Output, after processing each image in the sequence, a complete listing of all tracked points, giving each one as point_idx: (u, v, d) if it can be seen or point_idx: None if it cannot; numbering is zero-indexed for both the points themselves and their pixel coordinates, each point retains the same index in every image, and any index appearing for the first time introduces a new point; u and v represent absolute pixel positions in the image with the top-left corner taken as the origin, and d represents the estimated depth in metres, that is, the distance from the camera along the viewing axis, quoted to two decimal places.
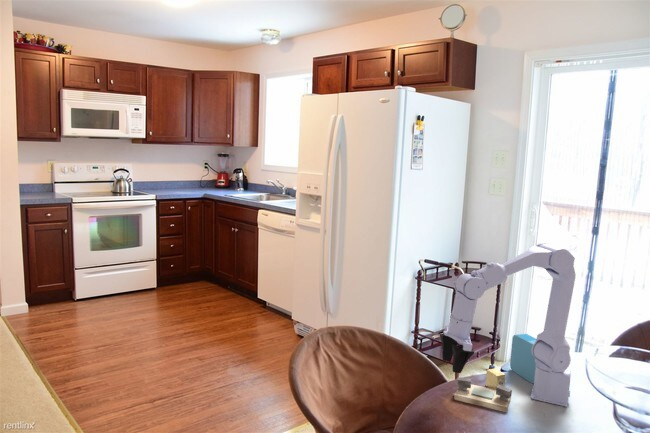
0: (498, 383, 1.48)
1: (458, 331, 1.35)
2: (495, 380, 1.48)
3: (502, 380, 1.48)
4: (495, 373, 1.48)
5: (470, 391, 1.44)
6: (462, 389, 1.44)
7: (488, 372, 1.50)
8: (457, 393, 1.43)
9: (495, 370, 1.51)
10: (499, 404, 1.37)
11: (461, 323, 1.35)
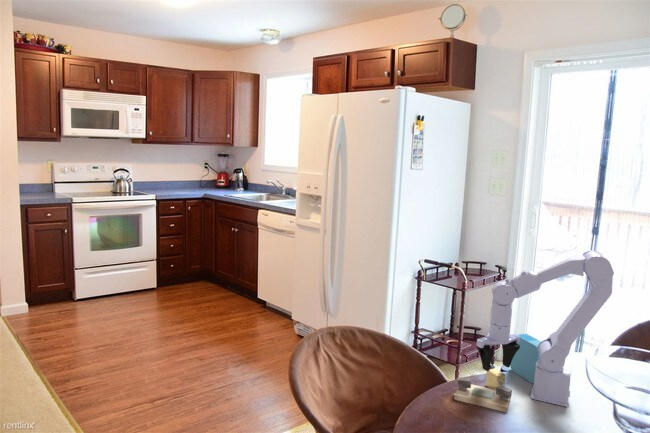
0: (498, 383, 1.48)
1: (489, 332, 1.48)
2: (495, 380, 1.48)
3: (502, 380, 1.48)
4: (495, 373, 1.48)
5: (470, 391, 1.44)
6: (462, 389, 1.44)
7: (488, 372, 1.50)
8: (457, 393, 1.43)
9: (495, 370, 1.51)
10: (499, 404, 1.37)
11: (490, 325, 1.48)
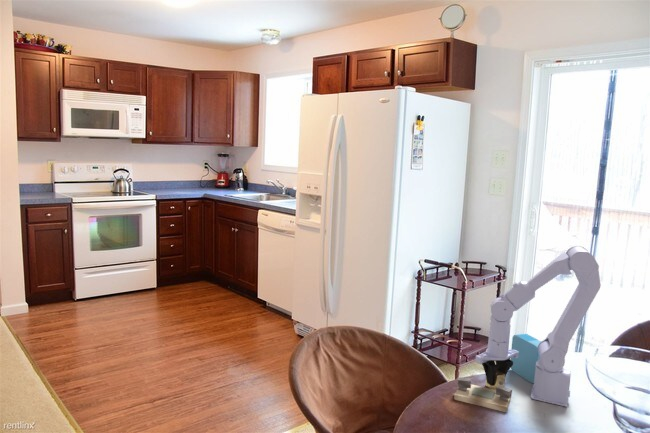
0: (498, 383, 1.48)
1: (488, 348, 1.49)
2: (495, 380, 1.48)
3: (502, 380, 1.48)
4: None
5: (470, 391, 1.44)
6: (462, 389, 1.44)
7: None
8: (457, 393, 1.43)
9: None
10: (499, 404, 1.37)
11: (489, 341, 1.48)
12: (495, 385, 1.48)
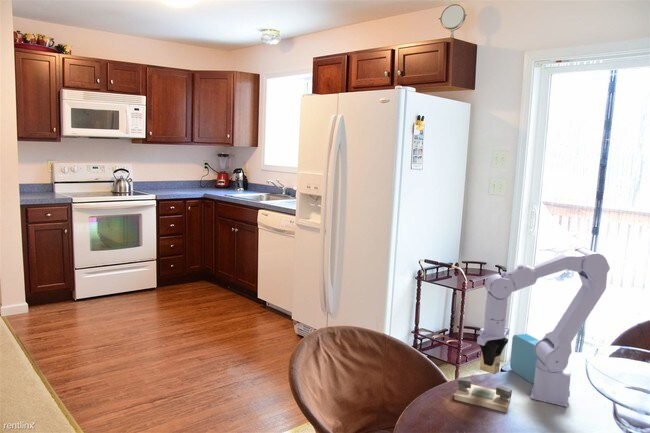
0: (495, 365, 1.44)
1: (485, 328, 1.43)
2: (493, 362, 1.44)
3: (498, 361, 1.45)
4: None
5: (470, 391, 1.44)
6: (462, 389, 1.44)
7: None
8: (457, 393, 1.43)
9: None
10: (499, 404, 1.37)
11: (486, 320, 1.43)
12: (493, 367, 1.44)
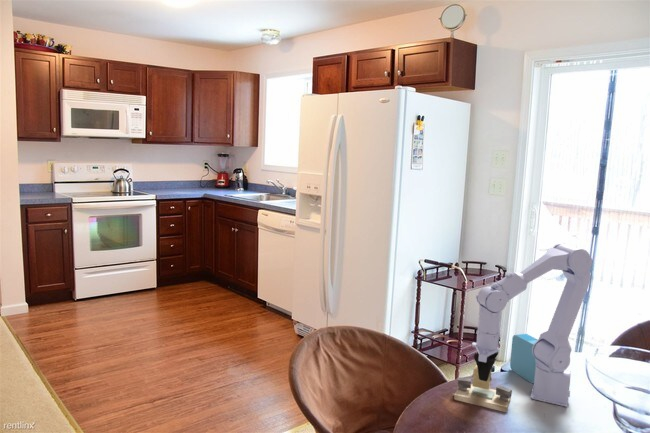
0: (489, 379, 1.41)
1: (481, 343, 1.39)
2: None
3: (490, 375, 1.42)
4: None
5: (470, 391, 1.44)
6: (462, 389, 1.44)
7: (476, 371, 1.42)
8: (457, 393, 1.43)
9: None
10: (499, 404, 1.37)
11: (482, 335, 1.39)
12: (487, 383, 1.40)
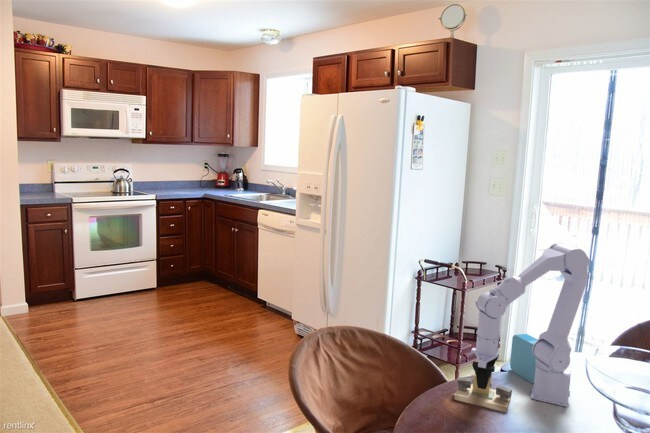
0: (489, 386, 1.41)
1: (480, 349, 1.39)
2: (487, 384, 1.41)
3: (490, 382, 1.42)
4: None
5: (470, 391, 1.44)
6: (462, 389, 1.44)
7: None
8: (457, 393, 1.43)
9: None
10: (499, 404, 1.37)
11: (482, 340, 1.39)
12: (487, 389, 1.41)
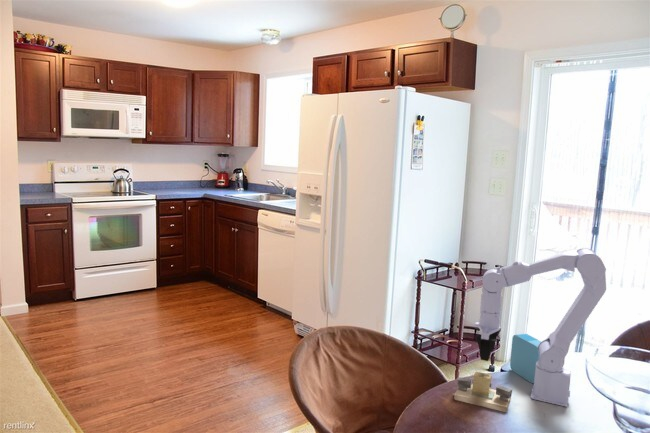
0: (489, 386, 1.41)
1: (483, 322, 1.47)
2: (487, 384, 1.41)
3: (490, 382, 1.42)
4: (485, 377, 1.41)
5: (470, 391, 1.44)
6: (462, 389, 1.44)
7: (476, 377, 1.42)
8: (457, 393, 1.43)
9: (479, 373, 1.43)
10: (499, 404, 1.37)
11: (485, 314, 1.47)
12: (487, 389, 1.41)
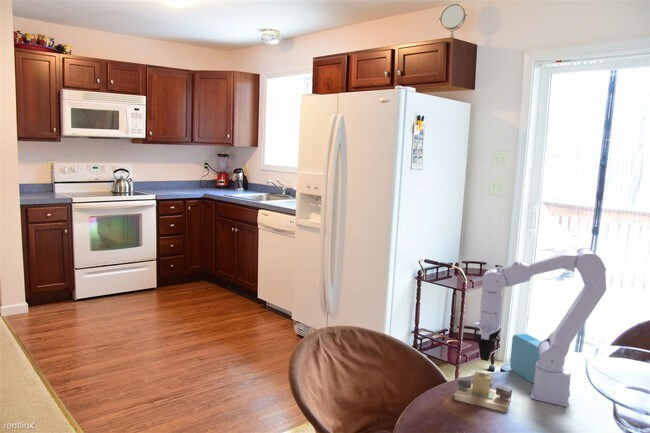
0: (489, 386, 1.41)
1: (483, 322, 1.47)
2: (487, 384, 1.41)
3: (490, 382, 1.42)
4: (485, 377, 1.41)
5: (470, 391, 1.44)
6: (462, 389, 1.44)
7: (476, 377, 1.42)
8: (457, 393, 1.43)
9: (479, 373, 1.43)
10: (499, 404, 1.37)
11: (485, 314, 1.47)
12: (487, 389, 1.41)
